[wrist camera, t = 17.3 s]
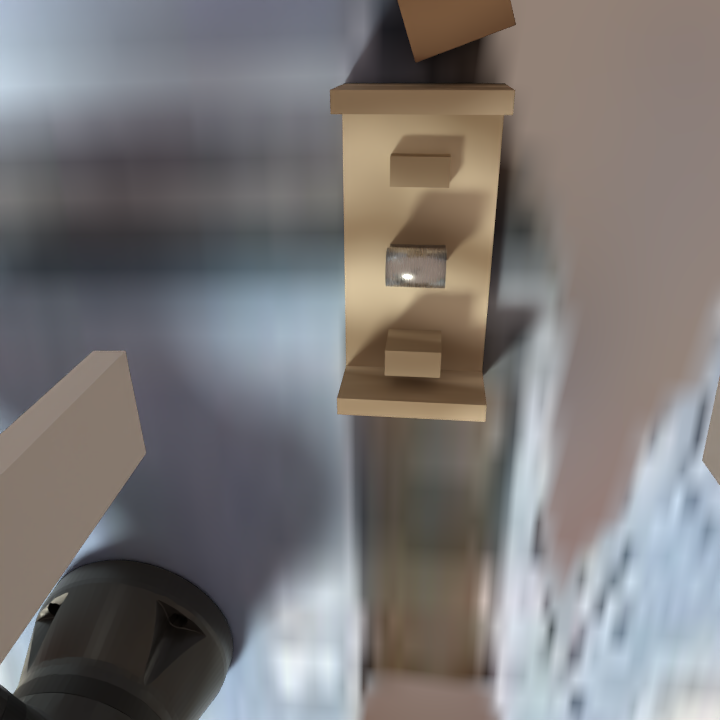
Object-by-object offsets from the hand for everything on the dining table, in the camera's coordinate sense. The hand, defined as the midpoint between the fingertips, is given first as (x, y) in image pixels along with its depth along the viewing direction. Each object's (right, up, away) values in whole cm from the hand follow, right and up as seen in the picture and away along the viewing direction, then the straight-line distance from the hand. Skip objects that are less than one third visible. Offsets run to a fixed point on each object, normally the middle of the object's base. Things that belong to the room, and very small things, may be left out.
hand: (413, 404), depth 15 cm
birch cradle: (+2, +7, +22) cm, 23 cm away
